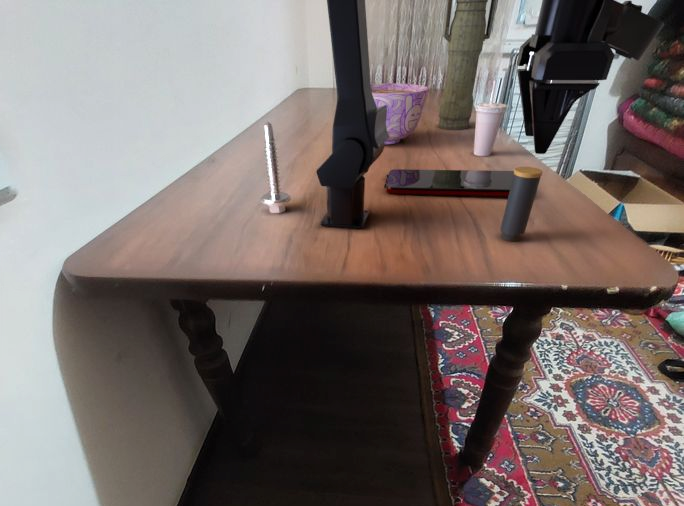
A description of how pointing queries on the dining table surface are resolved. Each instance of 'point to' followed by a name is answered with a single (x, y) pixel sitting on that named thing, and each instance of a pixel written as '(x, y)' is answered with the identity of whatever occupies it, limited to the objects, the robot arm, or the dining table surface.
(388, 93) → the bowl of food
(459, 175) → the smartphone
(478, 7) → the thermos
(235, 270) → the dining table surface
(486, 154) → the smoothie
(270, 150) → the screw
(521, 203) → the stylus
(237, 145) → the dining table surface
